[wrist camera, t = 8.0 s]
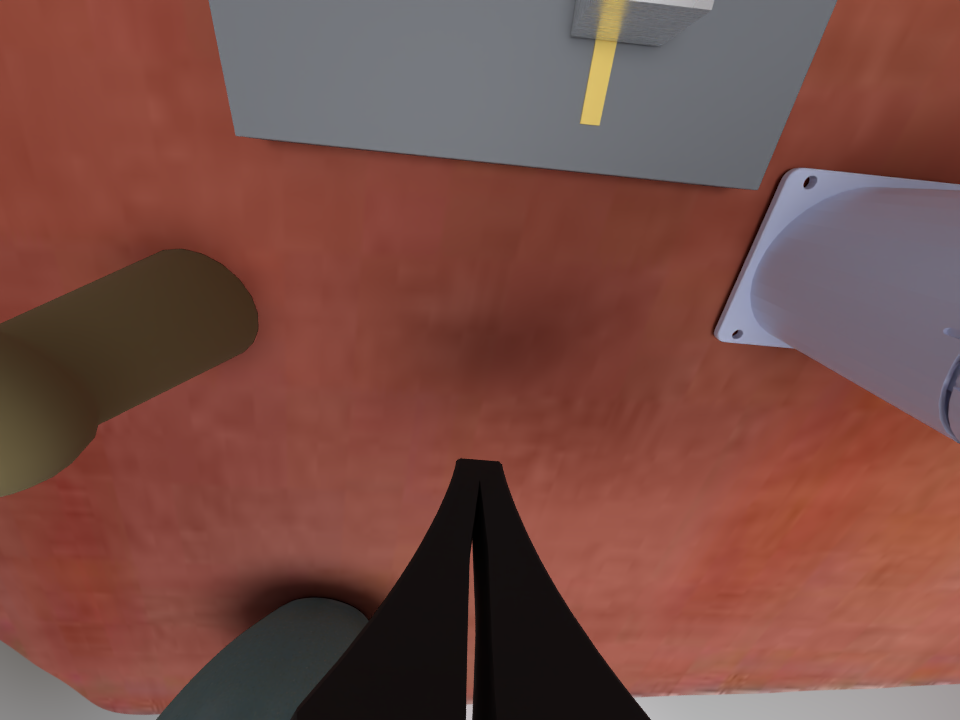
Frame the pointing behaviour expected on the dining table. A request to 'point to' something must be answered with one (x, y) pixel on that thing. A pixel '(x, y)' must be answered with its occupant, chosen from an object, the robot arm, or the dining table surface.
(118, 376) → the cork
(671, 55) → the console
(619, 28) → the fader
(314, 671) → the teal bowl
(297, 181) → the dining table surface
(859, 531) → the dining table surface
